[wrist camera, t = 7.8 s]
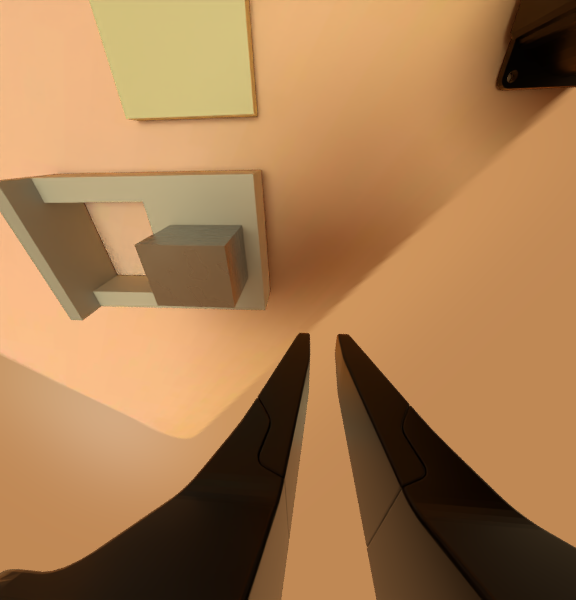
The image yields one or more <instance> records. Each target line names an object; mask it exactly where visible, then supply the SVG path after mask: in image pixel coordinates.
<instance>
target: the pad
mask: <svg viewBox="0 0 576 600" xmlns="http://www.w3.org/2000/svg"><path fill="white" fill-rule="evenodd" d="M89 2H90V5H91V8H92V11H93V14H94V18H95V21H96V24H97V27H98V30H99V34H100V37H101V40H102V43H103V46H104V50H105V53H106V56H107V59H108V62H109V66H110V69H111V72H112V75H113V78H114V81H115V85H116V88H117V91H118V94H119V97H120V101H121V104H122V107H123V110H124V113H125V117H126V119H131V120H137V121H142V120H169V119H196V118H223V117H251V116H257V105H256V91H255V78H254V64H253V50H252V37H251V23H250V10H249V0H89Z"/></svg>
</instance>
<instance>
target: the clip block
mask: <svg viewBox="0 0 576 600" xmlns="http://www.w3.org/2000/svg"><path fill="white" fill-rule="evenodd" d="M135 247H136V250H137V253H138V255H139V258H140V260H141V263H142V266H143V268H144V271H145V274H146V276H147V279H148V281H149V284H150V287H151V289H152V292H153V295H154V297H155V300H156V302H157V305H158V306H187V307H222V308H235V306H236V304H237V302H238V300H239V298H240V295H241V293H242V291H243V289H244V287H245V285H246V282H247V280H248V270H247V262H246V253H245V245H244V237H243V228H242V225H169V226H167V227H166V228H164V229H162V230H160V231H159V232H157V233H155V234H153V235H151V236H150V237H148V238H146V239H144V240H143V241H141V242H139V243H137V244H135Z"/></svg>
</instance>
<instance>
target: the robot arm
mask: <svg viewBox="0 0 576 600" xmlns="http://www.w3.org/2000/svg"><path fill="white" fill-rule="evenodd" d="M511 37H512V38H511V41H510V44H509V47H508V50H507V53H506V56H505V59H504V62H503V65H502V68H501V71H500V74H499V77H498V80H497V86H498V88H499V89H500V90H518V89H542V88H566V87H576V0H521V3H520V6H519V9H518V12H517V15H516V18H515V21H514V24H513V27H512V30H511ZM510 72H511V73H512V74H513V77H512V79H511V81H510V82H508V81H507V77H508V75H509V73H510ZM335 360H336V374H337V389H338V397H339V403H340V408H341V413H342V418H343V424H344V429H345V434H346V440H347V445H348V450H349V456H350V461H351V466H352V472H353V477H354V482H355V487H356V492H357V498H358V503H359V508H360V514H361V519H362V524H363V530H364V535H365V540H366V545H367V547H368V548H367V551H368V557H369V561H370V567H371V572H372V578H373V583H374V588H375V593H376V599H377V600H576V548H575V547H573V546H572V545H570V544H568V543H567V542H565V541H563V540H561V539H560V538H558V537H556V536H554V535H553V534H551V533H549V532H547V531H546V530H544V529H542V528H541V527H539V526H537V525H536V524H534V523H533V522H532V521H530V520H529V519H527V518H526V517H524V516H523V515H522V514H521V513H519V512H518V511H517V510H515V509H514V508H513V507H512V506H511V505H509V504H508V503H507V502H506V501H505V500H504V499H503V498H502V497H501V496H499V495H498V494H497V493H496V492H495V491H494V490H493V489H492V488H491V487H490V486H489V485H488V484H487V483H486V482H485V481H484V480H483V479H482V478H481V477H480V476H479V475H478V474H476V472H475V471H474V470H473V469H472V468H471V467H469V466H468V465H467V464H466V463H465V462H464V461H463V460H462V459H461V458H460V457H459V456H458V455H457V454H456V453H455V452H454V451H453V450H452V449H451V448H450V447H449V446H448V445H447V444H446V443H445V442H444V441H443V440H442V439H441V438H440V437H439V436H438V435H437V434H436V433H435V432H434V431H433V430H432V429H431V428H430V427H429V425H427V423H426V422H425V421H424V420H423V419H422V418H421V417H420V416H419V415H418V413H417V412H416V411H415V410H414V409H413V408H412V406H409V403H408V402H407V401H406V400H405V399H404V397H403V396H402V395H401V394H400V393H399V392H398V391H397V389H396V388H395V387H394V386H393V385H392V384H391V383H390V381H389V380H388V379H387V378H386V377H385V376H384V375H383V373H382V372H381V371H380V370H379V369H378V368H377V367H376V365H375V364H374V363H373V362H372V361H371V360H370V358H369V357H368V356H367V355H366V354H365V353H364V352H363V350H362V349H361V348H360V347H359V346H358V345H357V344H356V343H355V341H354V340H353V339H352V338H351V337H350V336H349V335H347V334H338V335H337V340H336V349H335ZM309 370H310V334H309V333H299V334H298V335H297V337H296V338H295V340H294V341H293V343H292V344H291V346H290V348H289V349H288V351H287V352H286V354H285V355H284V357H283V358H282V360H281V362H280V363H279V364H278V366H277V368H276V369H275V371H274V372H273V374H272V375H271V377H270V378H269V380H268V381H267V383H266V385H265V386H264V388H263V389H262V391H261V392H260V394H259V396H258V398H257V399H256V400H255V401H254V403H253V404H252V406H251V407H250V409H249V410H248V412H247V413H246V415H245V416H244V418H243V419H242V420H241V422H240V423H239V424H238V426H237V427H236V428H235V429H234V431H233V432H232V433H231V435H230V436H229V437H228V438H227V439H226V440H225V442H224V443H223V444H222V445H221V447H220V448H219V449H218V450H217V451H216V453H215V454H214V455H213V456H212V457H211V459H210V460H209V461H208V462H207V463H206V465H205V466H204V467H203V468H202V469H201V471H200V472H199V473H198V474H197V476H196V477H195V478H194V479H193V480H192V481H191V482H190V483H189V484H188V485H187V486H186V487H185V488H184V489H183V490H181V491H180V492H179V493H178V494H177V495H175V496H174V497H173V498H171V499H170V500H168V501H167V502H166V503H164V504H163V505H161V506H160V507H158V508H157V509H155V510H154V511H152V512H151V513H149V514H148V515H147V516H145V517H144V518H142V519H141V520H139V521H138V522H136V523H135V524H133V525H132V526H130V527H129V528H128V529H126V530H125V531H123V532H122V533H120V534H119V535H117V536H116V537H115V538H113V539H111V540H110V541H109V542H107V543H106V544H104V545H103V546H101V547H100V548H98V549H97V550H96V551H94V552H92V553H91V554H89V555H88V556H86V557H85V558H83V559H81V560H79V561H77V562H75V563H73V564H71V565H69V566H66V567H64V568H61V569H57V570H54V571H48V572H40V571H31V570H20V569H12V570H6V571H3V572H1V573H0V600H281V597H282V589H283V581H284V574H285V567H286V559H287V551H288V543H289V537H290V529H291V521H292V513H293V507H294V499H295V491H296V484H297V477H298V469H299V461H300V454H301V446H302V438H303V431H304V424H305V415H306V409H307V402H308V393H309Z"/></svg>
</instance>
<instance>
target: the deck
mask: <svg viewBox="0 0 576 600" xmlns="http://www.w3.org/2000/svg"><path fill="white" fill-rule="evenodd" d="M84 202H143V204H144V207H145V210H146V213H147V216H148V219H149V222H150V225H151V228H152V231H153V234H155V233H157V232H159V231H160V230H162V229H164V228H166V227H167V226H169V225H242V228H243V237H244V245H245V253H246V262H247V270H248V280H247V282H246V285H245V287H244V289H243V291H242V293H241V295H240V298H239V300H238V302H237V304H236V306H235V308H222V307H187V306H158V305H157V302H156V300H155V297H154V295H153V292H152V289H151V287H150V284H149V281H148V279H147V276H136V275H117V274H116V272H115V269H114V267H113V265H112V263H111V261H110V259H109V256H108V254H107V252H106V250H105V248H104V246H103V243H102V241H101V239H100V237H99V235H98V233H97V230H96V228H95V226H94V224H93V222H92V220H91V217H90V215H89V213H88V211H87V209H86V207H85V204H84ZM0 212H1V214H2V215H3V217H4V218H5V220H6V221H7V223H8V224H9V226H10V227H11V229H12V230H13V232H14V233H15V235H16V237H17V238H18V240H19V241H20V243H21V244H22V246H23V247H24V249H25V250H26V252H27V253H28V255H29V256H30V258H31V259H32V261H33V262H34V264H35V266H36V267H37V269H38V270H39V272H40V273H41V275H42V276H43V278H44V279H45V281H46V282H47V284H48V285H49V287H50V288H51V290H52V291H53V293H54V295H55V296H56V298H57V299H58V301H59V302H60V304H61V305H62V307H63V308H64V310H65V311H66V313H67V314H68V316H69V317H70V319H71V320H84V319H85V318H86V317H88V316H89V315H90V314H92V313H93V312H94V311H95V310H97V309H98V308H99V307H101V306H112V307H154V308H195V309H237V310H266V306H267V302H268V298H269V294H270V282H269V268H268V254H267V241H266V227H265V214H264V200H263V186H262V173H261V170H231V171H180V172H130V173H80V174H53V175H43V176H34V177H25V178H15V179H6V180H0Z"/></svg>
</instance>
